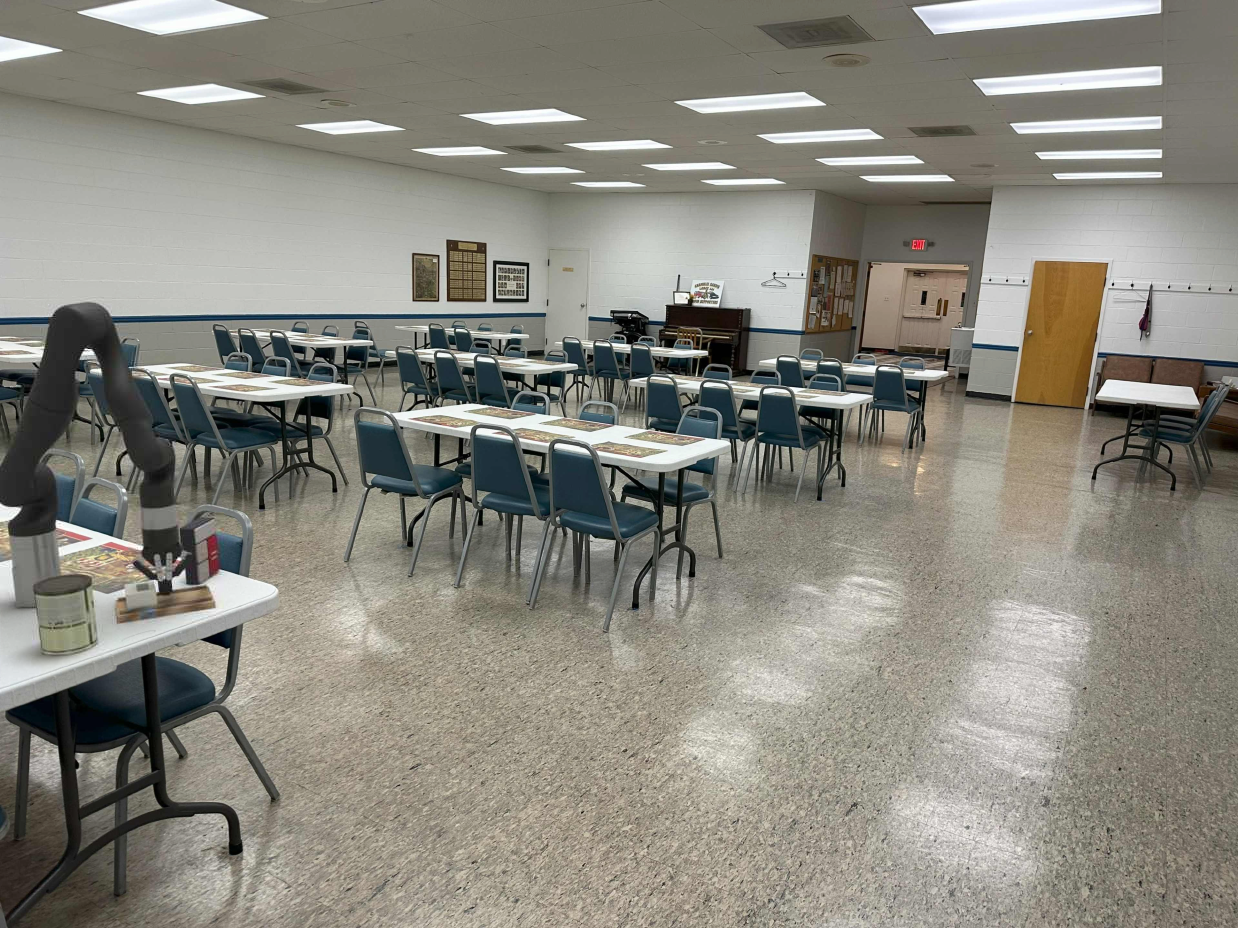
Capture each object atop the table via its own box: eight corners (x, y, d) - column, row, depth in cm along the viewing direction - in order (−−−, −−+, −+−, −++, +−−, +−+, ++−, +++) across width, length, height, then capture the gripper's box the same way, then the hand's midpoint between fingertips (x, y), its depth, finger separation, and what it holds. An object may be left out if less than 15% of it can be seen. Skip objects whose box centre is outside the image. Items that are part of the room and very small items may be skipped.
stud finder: (127, 611, 192) (126, 594, 191) (125, 600, 198) (124, 584, 197) (157, 607, 195) (156, 590, 194) (154, 596, 201) (153, 580, 200)
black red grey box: (200, 585, 214) (195, 528, 211) (183, 584, 214) (178, 527, 211) (221, 571, 225) (217, 517, 222) (205, 570, 225) (201, 516, 222)
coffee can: (33, 646, 176) (25, 582, 173) (88, 631, 184) (81, 570, 181) (50, 660, 170) (42, 594, 167) (106, 645, 178) (99, 581, 175)
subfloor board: (117, 623, 189) (116, 613, 189) (115, 606, 199) (114, 596, 199) (215, 607, 200) (214, 598, 199) (209, 591, 210) (208, 583, 209)
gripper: (127, 531, 189) (134, 604, 192) (193, 524, 196) (199, 594, 199) (126, 523, 195) (133, 594, 198) (189, 516, 202) (195, 585, 205)
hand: (166, 594), depth 199 cm, fingers closed
